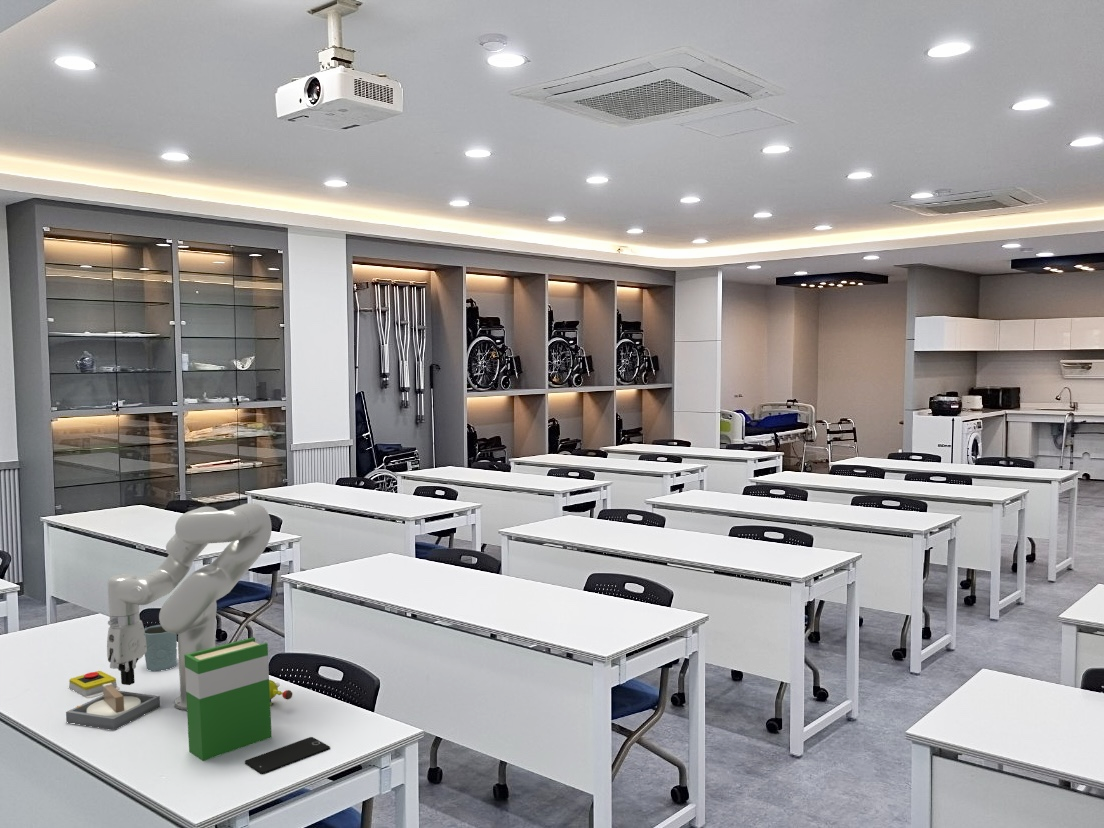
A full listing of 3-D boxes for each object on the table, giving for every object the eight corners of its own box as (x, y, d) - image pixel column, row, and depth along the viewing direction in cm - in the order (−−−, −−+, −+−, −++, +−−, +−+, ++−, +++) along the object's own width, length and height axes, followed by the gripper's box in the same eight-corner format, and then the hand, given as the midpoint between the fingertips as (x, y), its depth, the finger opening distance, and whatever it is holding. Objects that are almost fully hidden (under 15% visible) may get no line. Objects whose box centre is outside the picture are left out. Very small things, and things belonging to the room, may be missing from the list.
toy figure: (299, 707, 243) (298, 682, 243) (284, 714, 239) (283, 689, 238) (254, 695, 252) (253, 671, 252) (238, 702, 248) (237, 678, 247)
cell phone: (331, 750, 217) (331, 746, 217) (262, 776, 204) (262, 772, 204) (311, 739, 223) (311, 736, 223) (243, 764, 210) (243, 760, 210)
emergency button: (97, 665, 269) (120, 675, 259) (98, 679, 269) (121, 690, 260) (65, 674, 262) (87, 685, 252) (66, 688, 262) (88, 700, 253)
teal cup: (162, 673, 272) (160, 635, 271) (135, 670, 275) (133, 632, 274) (186, 662, 281) (184, 625, 280) (160, 659, 284) (158, 622, 284)
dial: (147, 710, 240) (145, 690, 239) (94, 724, 231) (92, 703, 231) (132, 697, 250) (131, 677, 249) (81, 710, 241) (80, 689, 241)
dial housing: (160, 706, 245) (159, 695, 245) (113, 730, 230) (113, 718, 230) (114, 700, 251) (114, 689, 251) (66, 723, 236) (65, 711, 236)
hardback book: (257, 729, 229) (253, 637, 228) (271, 737, 224) (267, 643, 223) (189, 751, 217) (184, 654, 215) (202, 761, 212) (197, 661, 210)
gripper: (113, 628, 241) (117, 695, 243) (155, 613, 255) (158, 676, 257) (92, 626, 244) (95, 691, 245) (134, 610, 258) (138, 673, 259)
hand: (128, 683), depth 251 cm, fingers closed
